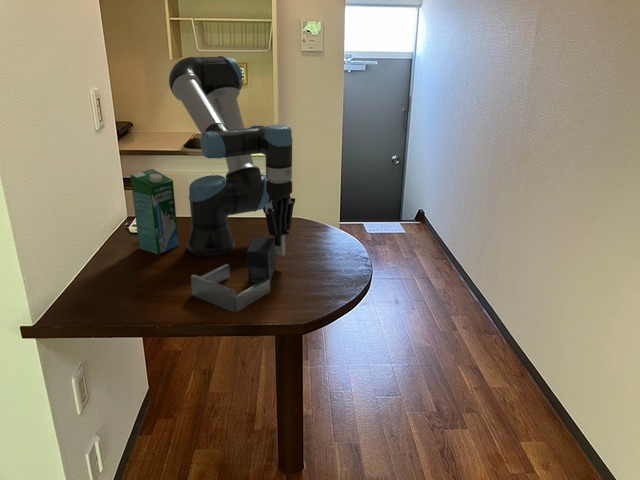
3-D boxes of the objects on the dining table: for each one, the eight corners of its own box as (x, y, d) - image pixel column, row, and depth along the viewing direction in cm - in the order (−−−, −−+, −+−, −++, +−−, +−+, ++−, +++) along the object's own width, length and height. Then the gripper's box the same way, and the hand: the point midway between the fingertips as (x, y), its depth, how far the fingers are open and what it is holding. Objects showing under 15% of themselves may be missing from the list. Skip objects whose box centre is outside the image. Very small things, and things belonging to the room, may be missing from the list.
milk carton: (158, 254, 169) (150, 179, 159) (138, 248, 173) (129, 174, 163) (179, 245, 176) (172, 172, 166) (160, 239, 180) (152, 168, 171)
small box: (254, 268, 161) (253, 236, 157) (276, 269, 161) (275, 237, 157) (247, 283, 152) (246, 250, 148) (269, 285, 151) (269, 251, 147)
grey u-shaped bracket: (190, 294, 145) (189, 275, 143) (226, 276, 156) (225, 257, 153) (235, 313, 136) (234, 292, 134) (270, 291, 147) (269, 272, 145)
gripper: (275, 187, 145) (277, 264, 155) (302, 177, 155) (302, 250, 165) (254, 182, 149) (257, 258, 158) (282, 172, 159) (283, 244, 168)
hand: (280, 254), depth 162 cm, fingers closed
